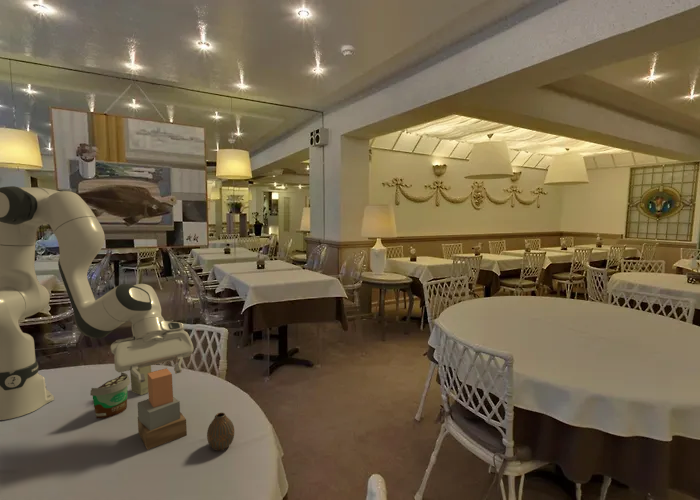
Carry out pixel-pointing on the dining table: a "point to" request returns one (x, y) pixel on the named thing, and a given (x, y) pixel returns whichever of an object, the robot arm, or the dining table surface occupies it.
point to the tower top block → (158, 413)
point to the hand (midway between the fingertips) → (160, 376)
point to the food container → (111, 397)
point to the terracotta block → (160, 387)
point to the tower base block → (163, 432)
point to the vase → (220, 432)
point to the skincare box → (143, 386)
